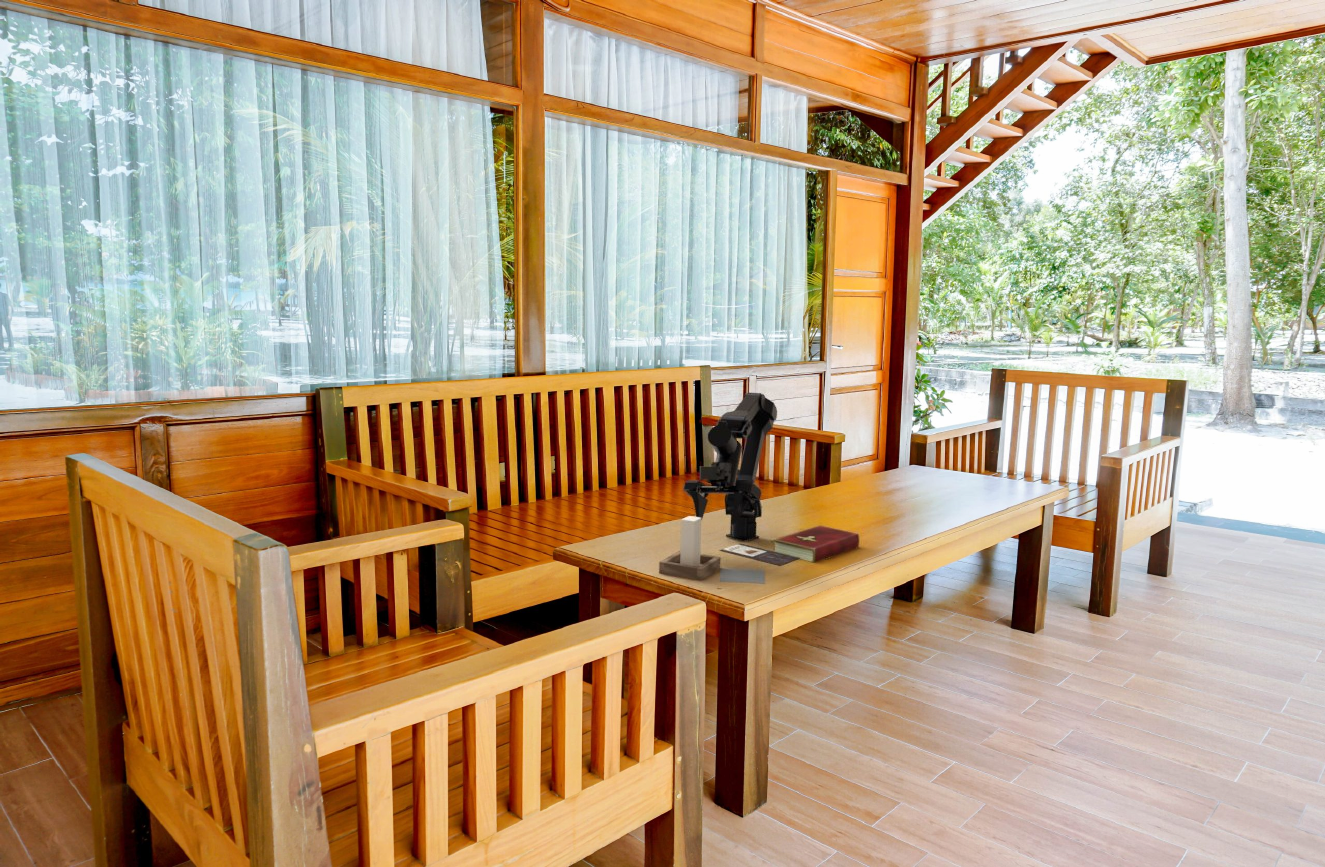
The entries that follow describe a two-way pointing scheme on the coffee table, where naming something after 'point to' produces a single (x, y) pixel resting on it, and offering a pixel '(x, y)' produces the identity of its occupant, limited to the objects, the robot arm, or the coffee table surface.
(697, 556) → the grey tall square post
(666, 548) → the coffee table surface
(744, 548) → the chocolate bar
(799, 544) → the hardcover book
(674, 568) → the brown square tray
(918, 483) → the coffee table surface
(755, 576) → the mat
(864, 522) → the coffee table surface
